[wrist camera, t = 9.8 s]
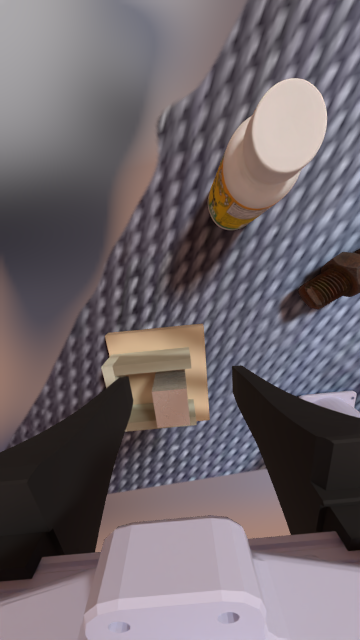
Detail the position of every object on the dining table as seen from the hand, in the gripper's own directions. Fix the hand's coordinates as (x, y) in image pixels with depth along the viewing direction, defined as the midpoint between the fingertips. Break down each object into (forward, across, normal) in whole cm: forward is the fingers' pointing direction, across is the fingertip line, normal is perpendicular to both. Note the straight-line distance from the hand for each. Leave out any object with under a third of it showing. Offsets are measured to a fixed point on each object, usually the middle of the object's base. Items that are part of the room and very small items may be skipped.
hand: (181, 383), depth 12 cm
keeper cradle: (+10, +3, +6) cm, 12 cm away
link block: (+9, +2, +6) cm, 11 cm away
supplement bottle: (+11, -7, -14) cm, 19 cm away
